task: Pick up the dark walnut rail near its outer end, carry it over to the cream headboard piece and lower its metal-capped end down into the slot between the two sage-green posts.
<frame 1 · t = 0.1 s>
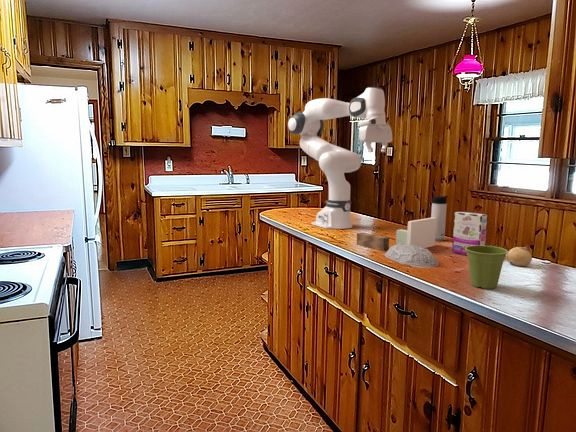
hand: (377, 152, 207), 39 cm above the worktop, tool pointing down, fingers open, 8 cm apart
candy bar box: (467, 255, 172), on the worktop
plant pot: (483, 286, 133), on the worktop
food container: (410, 261, 164), on the worktop
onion: (518, 265, 158), on the worktop
post block: (410, 245, 187), on the worktop
travel mug: (437, 240, 200), on the worktop
rail: (372, 247, 183), on the worktop
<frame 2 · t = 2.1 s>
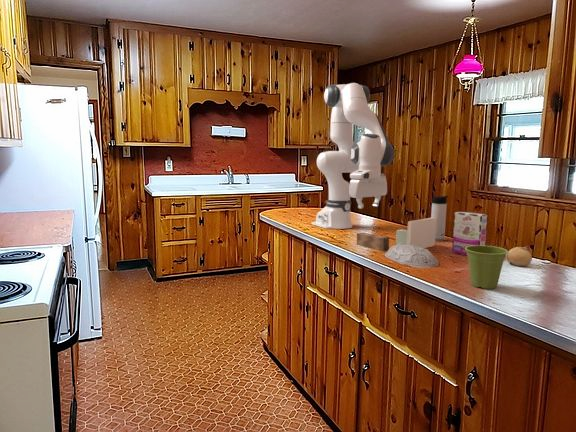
hand: (368, 207, 183), 16 cm above the worktop, tool pointing down, fingers open, 8 cm apart
nothing on the worktop moved.
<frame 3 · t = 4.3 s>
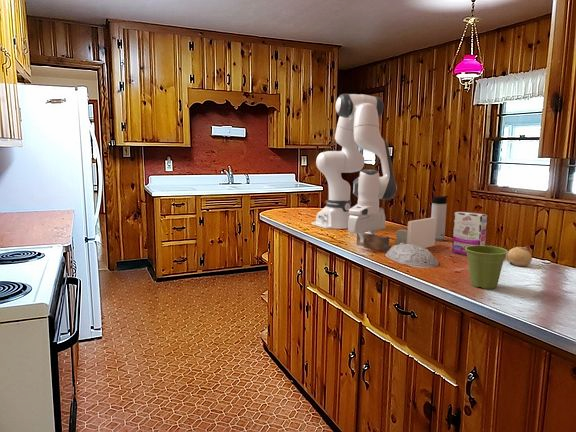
hand: (366, 241, 185), 2 cm above the worktop, tool pointing down, fingers closed on rail, 4 cm apart
rail: (372, 247, 183), on the worktop, touching gripper
everything else where it was.
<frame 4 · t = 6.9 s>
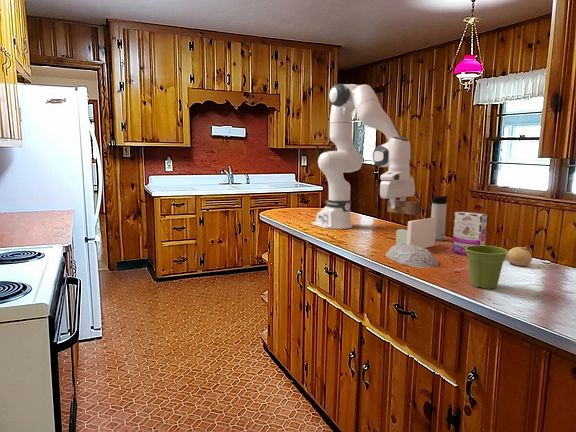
hand: (397, 207, 190), 15 cm above the worktop, tool pointing down, fingers closed on rail, 4 cm apart
rail: (403, 212, 188), point 14 cm above the worktop, touching gripper
everything else where it was.
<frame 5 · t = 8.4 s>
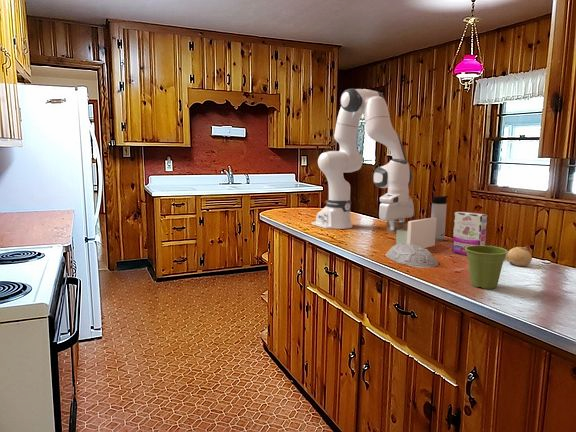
hand: (396, 229, 191), 6 cm above the worktop, tool pointing down, fingers closed on rail, 4 cm apart
rail: (402, 234, 189), point 4 cm above the worktop, touching gripper
everything else where it was.
when the fingers open (3 cm above the worktop, at t = 9.7 s): rail drops 1 cm, on the worktop.
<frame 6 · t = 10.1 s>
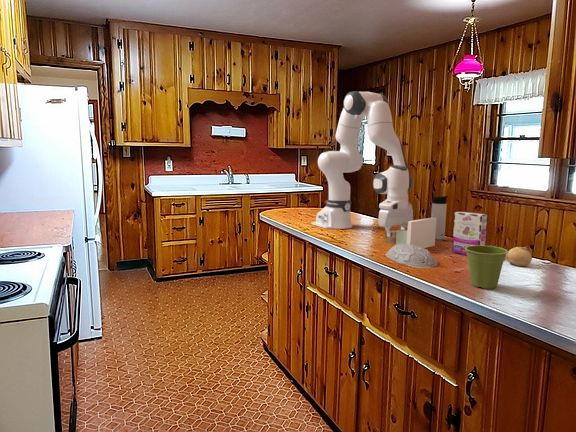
hand: (395, 235, 192), 3 cm above the worktop, tool pointing down, fingers open, 8 cm apart
rail: (400, 244, 190), on the worktop
everything else where it was.
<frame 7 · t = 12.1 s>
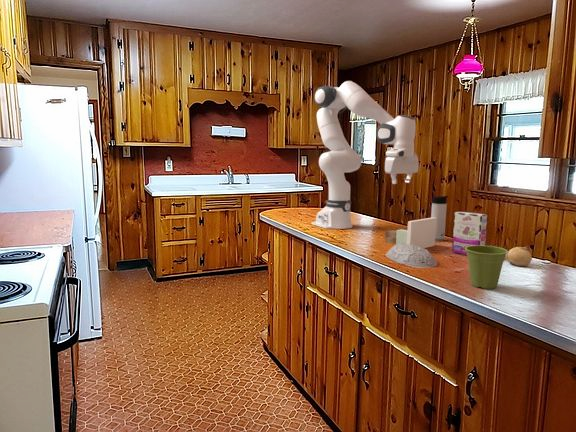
hand: (401, 183, 199), 25 cm above the worktop, tool pointing down, fingers open, 8 cm apart
nothing on the worktop moved.
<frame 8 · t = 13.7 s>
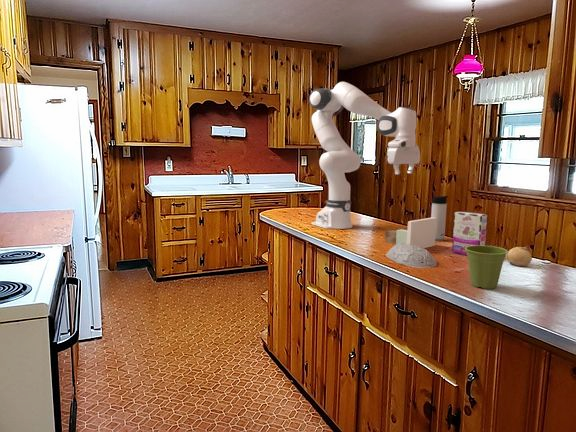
hand: (403, 174, 202), 29 cm above the worktop, tool pointing down, fingers open, 8 cm apart
nothing on the worktop moved.
at the end: rail 0.2 cm from the target spot on the post block, point 0.0 cm above the post block's base; rail on the worktop; the gripper is holding nothing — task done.
